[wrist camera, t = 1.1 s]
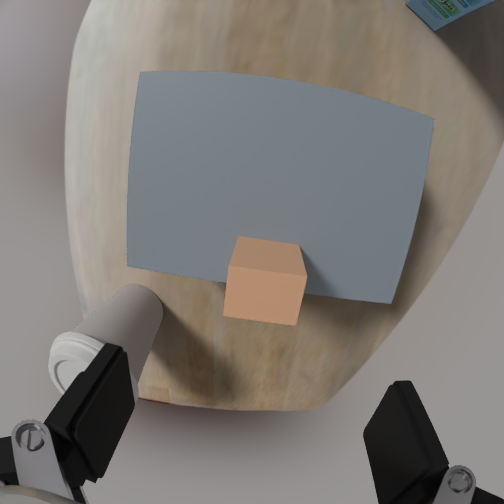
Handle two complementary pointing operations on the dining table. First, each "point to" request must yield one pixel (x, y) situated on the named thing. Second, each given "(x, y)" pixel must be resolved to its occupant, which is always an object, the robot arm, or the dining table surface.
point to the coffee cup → (109, 335)
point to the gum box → (443, 10)
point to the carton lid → (273, 188)
